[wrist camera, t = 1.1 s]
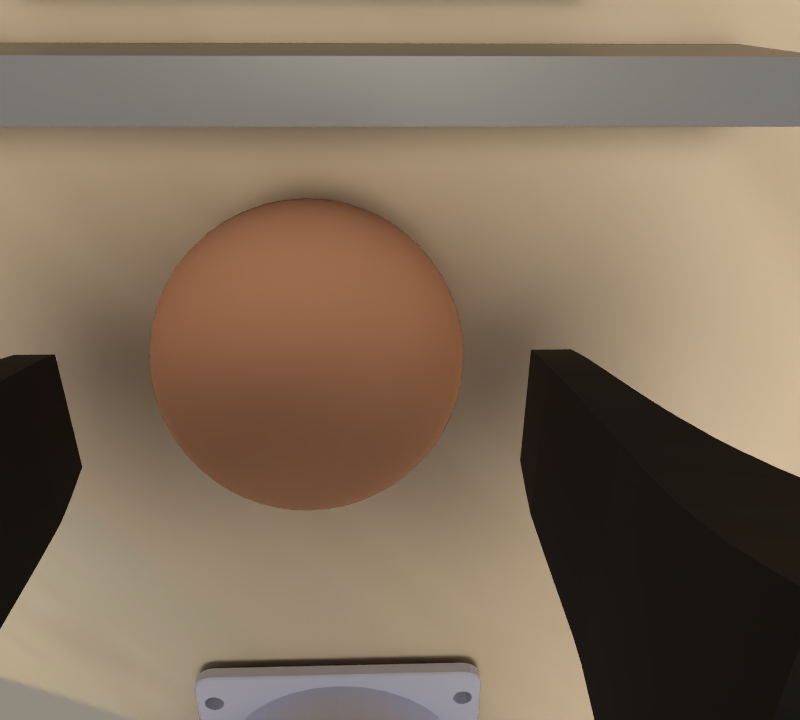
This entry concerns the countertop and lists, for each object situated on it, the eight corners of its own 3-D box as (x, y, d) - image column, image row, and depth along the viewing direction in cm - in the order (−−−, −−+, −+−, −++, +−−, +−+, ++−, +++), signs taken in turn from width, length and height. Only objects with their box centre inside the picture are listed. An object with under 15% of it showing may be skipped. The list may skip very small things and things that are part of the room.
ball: (445, 406, 17) (473, 576, 12) (207, 409, 17) (136, 583, 12) (453, 167, 14) (494, 258, 9) (173, 168, 14) (66, 260, 9)
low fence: (728, 101, 14) (811, 126, 11) (-121, 101, 13) (-244, 127, 11) (739, 44, 13) (829, 56, 11) (-139, 41, 13) (-272, 55, 10)
